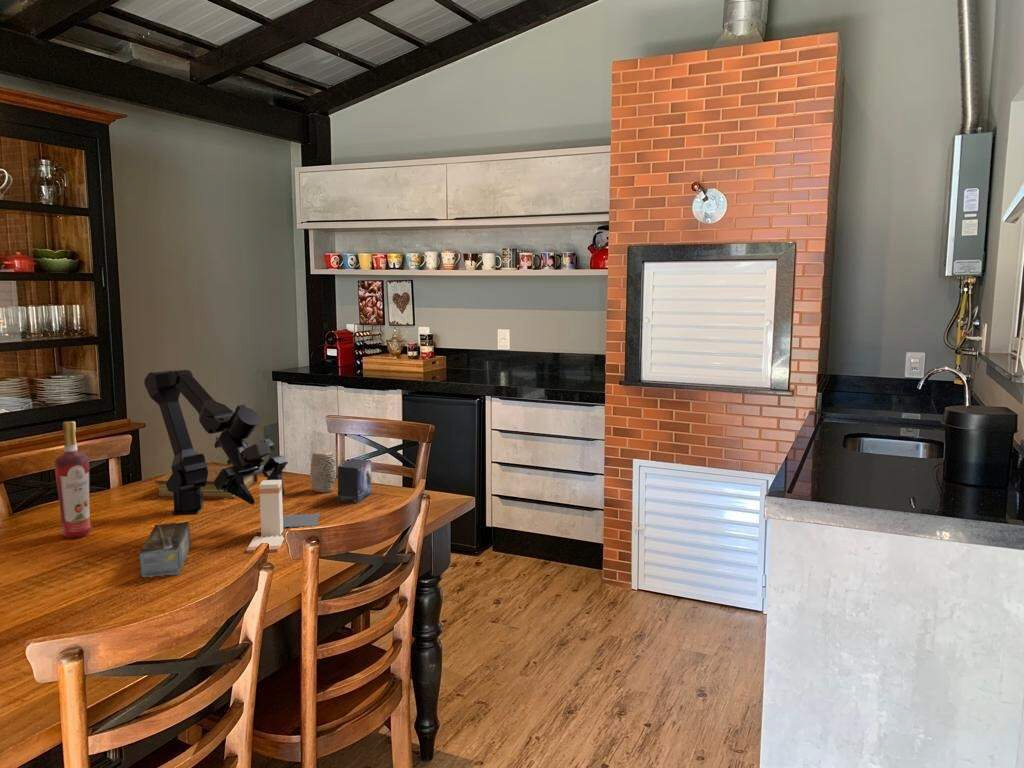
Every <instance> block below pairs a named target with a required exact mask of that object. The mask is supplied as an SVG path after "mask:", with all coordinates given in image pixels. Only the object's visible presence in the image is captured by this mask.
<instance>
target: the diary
mask: <svg viewBox="0 0 1024 768" xmlns="http://www.w3.org/2000/svg"><path fill="white" fill-rule="evenodd" d="M207 466H208V465H207ZM229 467H230V466H217V465H216V466H211V465H210V466H208V477H207V482H206V486H205V487H200V489H201V492H202V493H203V498H236V497H237V496H235V495H233V494H231V493H229V492H224V491H223V490H220V491H218V490H217V488H216V487H215V485H214V481H215V479H216V477H217V476H218V474H219V473H220V471H221V470H222V469H224V468H229ZM172 474H173V473H172V471H171V472H169V473H167V474H165V475H163V476H161V477H159V478H157V479H154V483H155V484H158V495H155V498H156V499H174V497H173V492H171V491H168V489H167V486H166V482H167V481H168V479H169V478H170V477H171V475H172ZM257 482H258V483H259V474H256V475H252V476H248V477H244V483H245V485H246V487H247V488H248V490H250V489H251V488H252V487H254V486H255V485H257V484H258V483H257ZM256 483H257V484H256ZM254 484H255V485H254ZM253 485H254V486H253ZM251 486H252V487H251ZM250 487H251V488H250ZM249 488H250V489H249ZM237 498H238V497H237ZM237 498H236V499H237Z"/></svg>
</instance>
